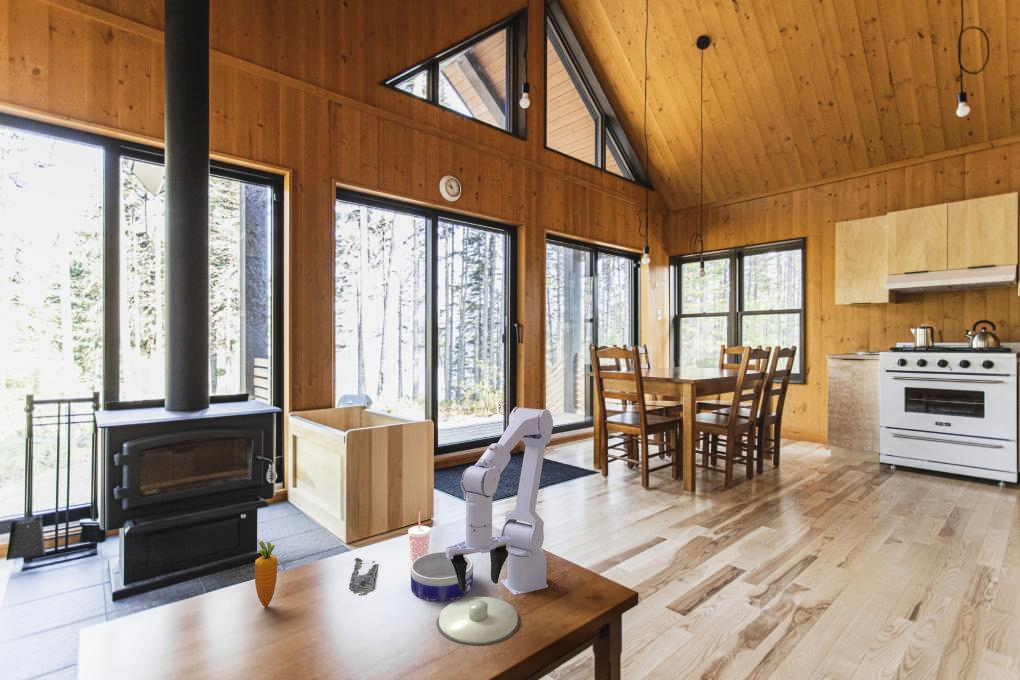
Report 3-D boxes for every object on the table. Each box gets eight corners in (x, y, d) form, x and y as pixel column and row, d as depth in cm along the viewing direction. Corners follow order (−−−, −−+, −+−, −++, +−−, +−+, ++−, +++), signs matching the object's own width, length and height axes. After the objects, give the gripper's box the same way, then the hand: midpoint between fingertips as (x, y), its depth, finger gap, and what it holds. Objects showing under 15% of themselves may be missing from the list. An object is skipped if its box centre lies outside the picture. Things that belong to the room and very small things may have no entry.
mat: (497, 594, 121) (497, 592, 121) (534, 633, 105) (535, 631, 105) (425, 611, 113) (425, 610, 113) (453, 657, 97) (453, 655, 97)
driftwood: (373, 599, 120) (373, 590, 120) (343, 601, 118) (344, 592, 118) (380, 562, 140) (380, 554, 140) (355, 563, 139) (355, 556, 139)
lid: (496, 593, 121) (496, 580, 121) (531, 630, 105) (531, 614, 105) (428, 610, 113) (428, 595, 113) (455, 653, 98) (455, 636, 98)
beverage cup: (405, 560, 139) (405, 509, 139) (426, 556, 142) (426, 506, 142) (411, 569, 134) (411, 516, 134) (433, 564, 137) (433, 513, 137)
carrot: (281, 606, 115) (282, 541, 115) (258, 615, 111) (259, 547, 111) (272, 599, 118) (273, 535, 118) (250, 607, 114) (250, 541, 114)
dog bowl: (463, 607, 115) (463, 581, 115) (400, 600, 118) (400, 575, 118) (479, 576, 130) (479, 553, 130) (423, 571, 133) (423, 548, 133)
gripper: (454, 534, 102) (453, 601, 102) (517, 523, 109) (516, 586, 109) (442, 523, 109) (441, 586, 108) (502, 513, 115) (502, 572, 115)
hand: (478, 585), depth 109 cm, fingers open, 7 cm apart
